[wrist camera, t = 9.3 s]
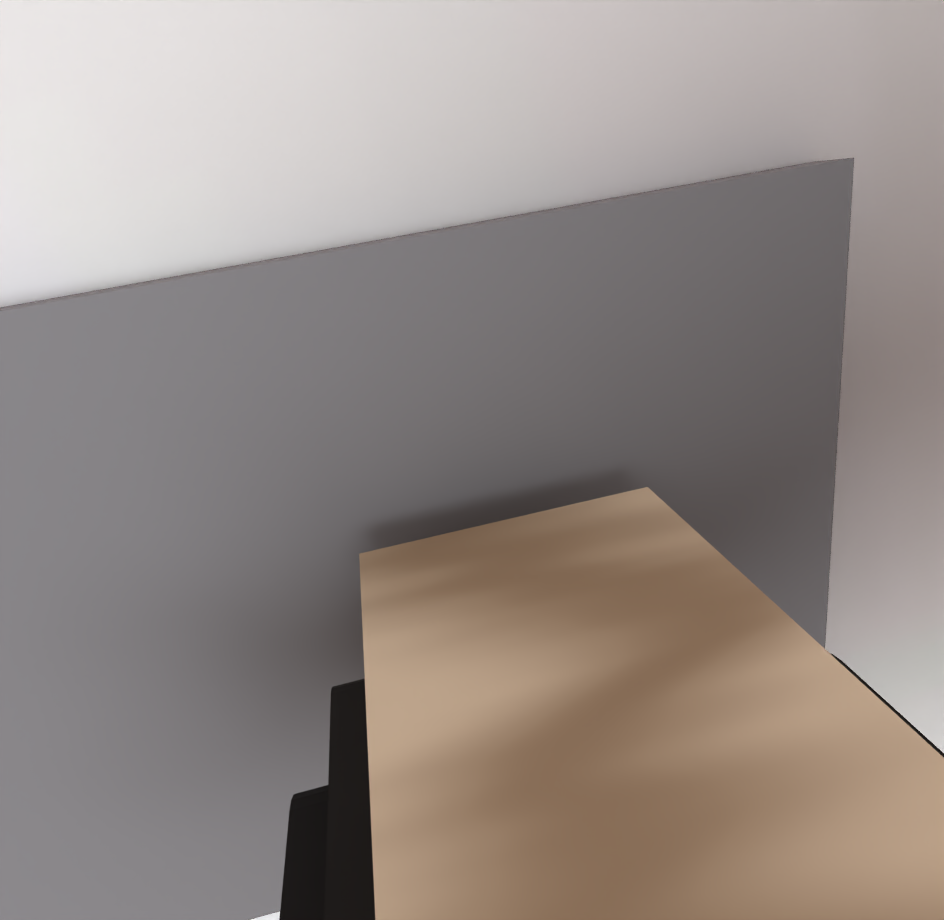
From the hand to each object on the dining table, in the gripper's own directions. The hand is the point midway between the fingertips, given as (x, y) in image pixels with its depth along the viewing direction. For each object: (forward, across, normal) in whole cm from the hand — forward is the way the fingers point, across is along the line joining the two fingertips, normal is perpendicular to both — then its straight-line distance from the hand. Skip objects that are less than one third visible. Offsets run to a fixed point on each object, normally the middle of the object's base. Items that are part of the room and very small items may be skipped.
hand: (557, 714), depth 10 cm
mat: (+4, +4, 0) cm, 6 cm away
